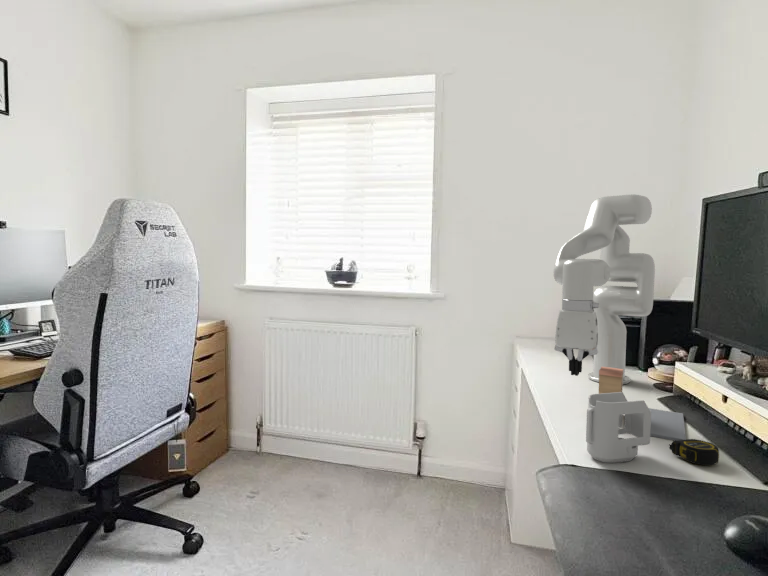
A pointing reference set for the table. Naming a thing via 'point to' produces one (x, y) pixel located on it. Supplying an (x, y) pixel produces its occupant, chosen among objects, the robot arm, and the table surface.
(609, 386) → the oak block
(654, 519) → the table surface
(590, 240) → the robot arm
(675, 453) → the tape measure
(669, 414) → the rubber mat
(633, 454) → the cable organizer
